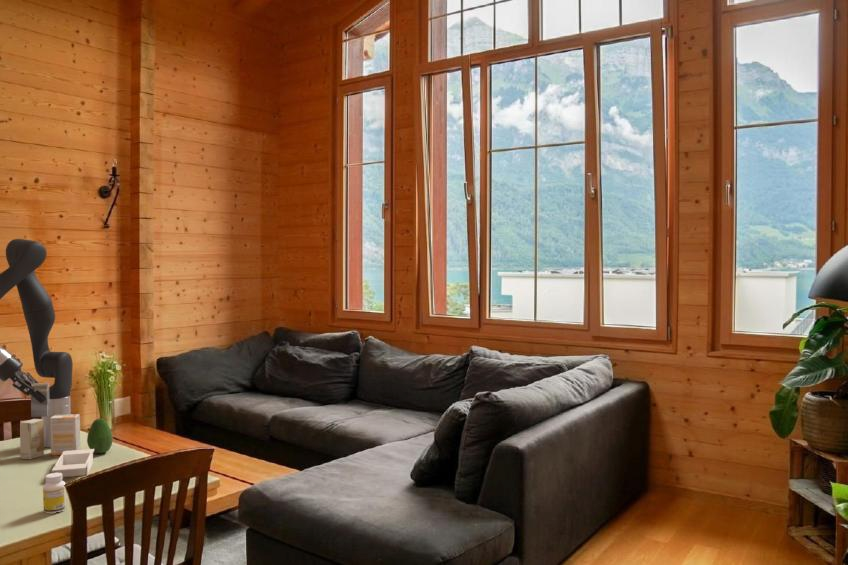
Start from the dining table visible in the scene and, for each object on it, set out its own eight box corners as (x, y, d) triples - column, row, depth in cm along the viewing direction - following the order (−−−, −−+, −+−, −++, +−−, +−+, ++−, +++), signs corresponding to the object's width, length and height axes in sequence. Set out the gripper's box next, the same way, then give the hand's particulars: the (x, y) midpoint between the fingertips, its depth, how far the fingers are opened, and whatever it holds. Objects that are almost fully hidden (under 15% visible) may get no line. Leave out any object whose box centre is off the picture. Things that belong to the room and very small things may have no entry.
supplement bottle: (48, 507, 191) (48, 471, 191) (69, 506, 192) (69, 471, 191) (39, 514, 186) (39, 478, 185) (61, 514, 186) (60, 477, 186)
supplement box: (81, 451, 244) (80, 413, 243) (76, 455, 239) (75, 417, 239) (56, 451, 243) (55, 414, 242) (50, 455, 238) (49, 417, 238)
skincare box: (31, 459, 233) (30, 423, 233) (19, 459, 234) (19, 422, 234) (45, 454, 240) (44, 418, 239) (34, 453, 241) (33, 418, 240)
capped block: (33, 414, 226) (33, 383, 225) (49, 413, 227) (49, 382, 227) (31, 417, 222) (30, 385, 221) (47, 416, 223) (46, 385, 223)
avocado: (99, 448, 247) (99, 415, 246) (117, 451, 244) (117, 417, 244) (81, 455, 239) (81, 420, 239) (100, 457, 237) (99, 422, 236)
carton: (63, 461, 232) (63, 451, 232) (94, 459, 235) (94, 448, 235) (51, 481, 212) (51, 470, 212) (85, 479, 215) (85, 467, 215)
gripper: (5, 357, 214) (50, 395, 219) (16, 351, 228) (58, 386, 232) (-14, 375, 213) (31, 413, 217) (-3, 368, 226) (40, 403, 231)
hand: (45, 399), depth 225 cm, fingers closed on capped block, 4 cm apart
